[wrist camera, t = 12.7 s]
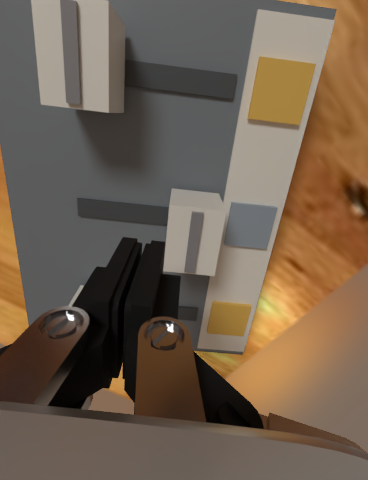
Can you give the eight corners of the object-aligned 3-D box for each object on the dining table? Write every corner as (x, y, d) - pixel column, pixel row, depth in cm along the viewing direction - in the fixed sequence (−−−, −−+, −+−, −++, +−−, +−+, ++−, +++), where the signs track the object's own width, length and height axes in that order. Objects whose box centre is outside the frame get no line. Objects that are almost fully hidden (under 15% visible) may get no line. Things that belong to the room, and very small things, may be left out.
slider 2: (218, 193, 18) (227, 212, 14) (209, 249, 19) (214, 278, 16) (171, 188, 17) (169, 206, 14) (166, 245, 19) (162, 273, 16)
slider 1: (125, 26, 14) (107, -2, 11) (123, 113, 16) (107, 112, 12) (65, 17, 14) (27, -13, 10) (70, 106, 15) (38, 104, 12)
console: (304, 30, 18) (341, 5, 14) (234, 322, 28) (243, 359, 23) (17, -10, 17) (-37, -50, 13) (51, 306, 27) (27, 341, 23)
